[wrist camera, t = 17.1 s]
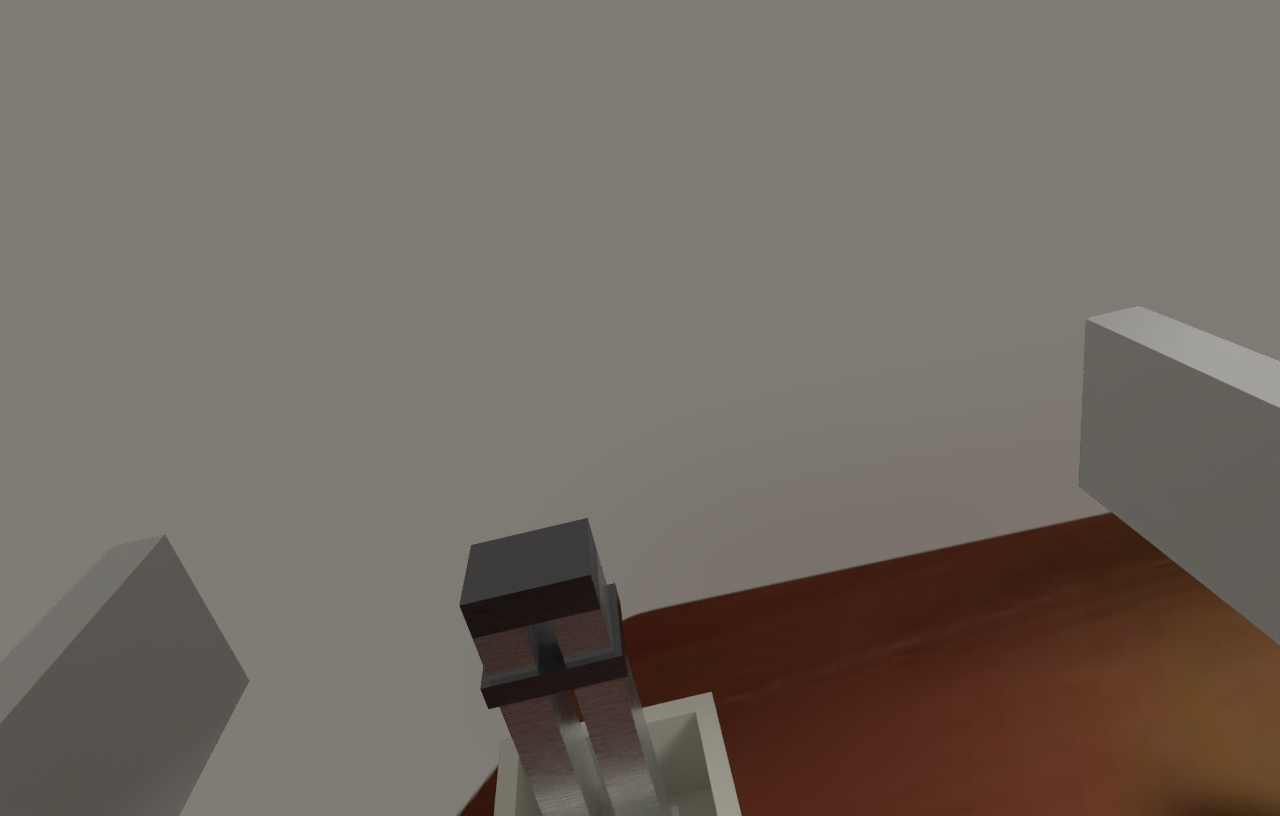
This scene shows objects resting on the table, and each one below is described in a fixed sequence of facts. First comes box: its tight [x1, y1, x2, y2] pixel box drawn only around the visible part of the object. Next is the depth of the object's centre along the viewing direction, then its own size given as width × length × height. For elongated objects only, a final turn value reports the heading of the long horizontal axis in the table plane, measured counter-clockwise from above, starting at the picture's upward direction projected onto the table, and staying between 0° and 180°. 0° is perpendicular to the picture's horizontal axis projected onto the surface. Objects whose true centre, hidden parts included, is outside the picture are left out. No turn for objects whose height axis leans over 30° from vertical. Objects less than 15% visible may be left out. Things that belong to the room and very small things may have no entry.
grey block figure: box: [460, 518, 681, 816], centre depth 31 cm, size 5×5×20 cm
